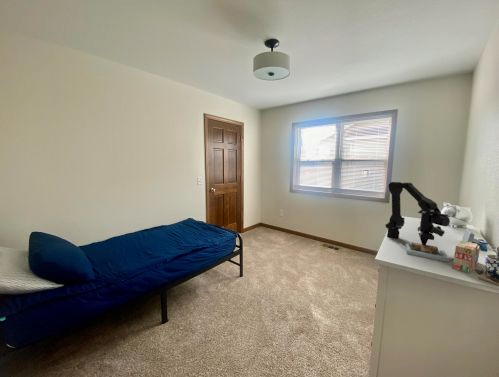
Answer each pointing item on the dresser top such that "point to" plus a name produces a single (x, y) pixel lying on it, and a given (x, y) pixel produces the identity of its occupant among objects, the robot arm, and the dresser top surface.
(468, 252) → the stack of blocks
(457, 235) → the dresser top surface
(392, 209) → the robot arm
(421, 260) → the dresser top surface
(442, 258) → the dock
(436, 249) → the t block
